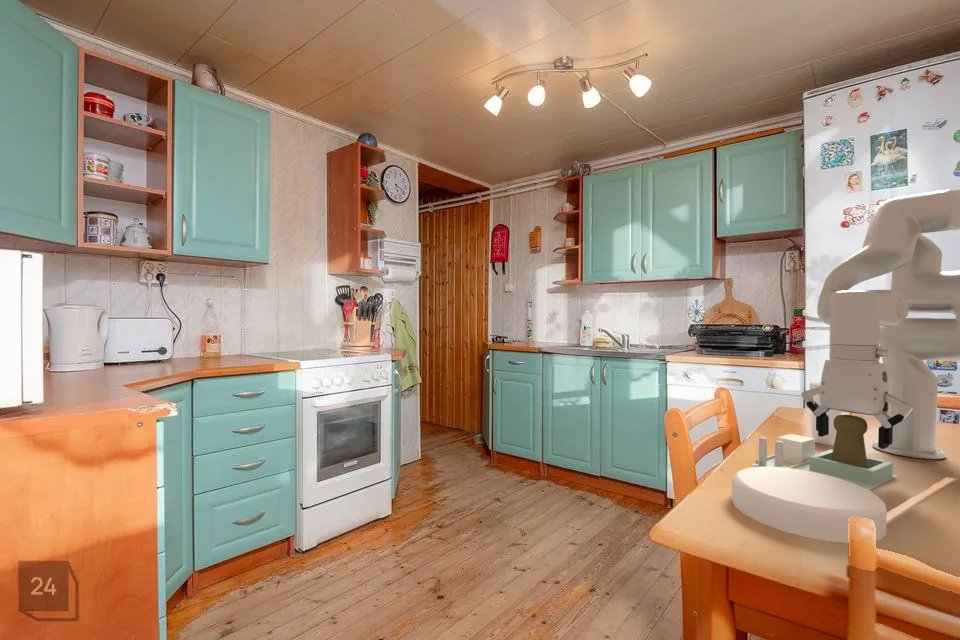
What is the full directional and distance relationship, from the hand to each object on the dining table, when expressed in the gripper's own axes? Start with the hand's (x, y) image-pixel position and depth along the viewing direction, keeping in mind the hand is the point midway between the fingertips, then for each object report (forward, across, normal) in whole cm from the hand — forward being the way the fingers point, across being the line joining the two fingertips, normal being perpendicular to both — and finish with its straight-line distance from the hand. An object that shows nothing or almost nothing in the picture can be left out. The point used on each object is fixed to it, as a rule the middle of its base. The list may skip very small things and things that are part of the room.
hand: (852, 441), depth 90 cm
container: (+7, -2, +27) cm, 28 cm away
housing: (+6, +10, +1) cm, 11 cm away
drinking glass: (+8, +14, -24) cm, 29 cm away
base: (+7, +4, +4) cm, 9 cm away
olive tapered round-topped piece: (+6, 0, +1) cm, 6 cm away
